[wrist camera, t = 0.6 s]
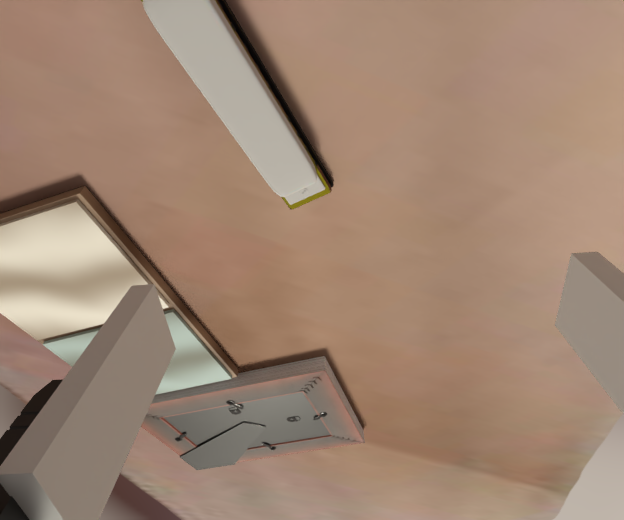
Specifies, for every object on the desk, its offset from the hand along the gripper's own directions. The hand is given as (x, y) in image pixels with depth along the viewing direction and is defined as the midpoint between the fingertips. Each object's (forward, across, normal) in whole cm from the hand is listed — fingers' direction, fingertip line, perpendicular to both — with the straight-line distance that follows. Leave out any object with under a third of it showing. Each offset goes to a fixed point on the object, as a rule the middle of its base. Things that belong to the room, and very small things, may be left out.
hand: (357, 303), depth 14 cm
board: (+16, -20, -11) cm, 28 cm away
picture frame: (+22, -12, -29) cm, 38 cm away
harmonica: (+13, -5, +5) cm, 15 cm away
